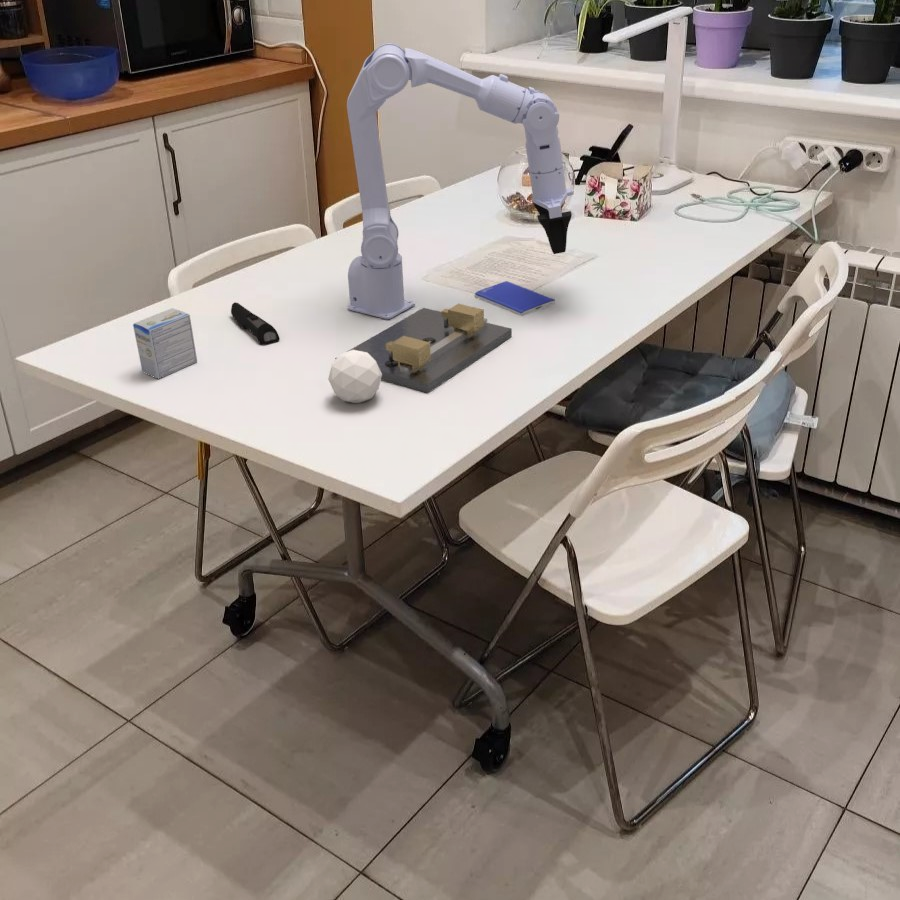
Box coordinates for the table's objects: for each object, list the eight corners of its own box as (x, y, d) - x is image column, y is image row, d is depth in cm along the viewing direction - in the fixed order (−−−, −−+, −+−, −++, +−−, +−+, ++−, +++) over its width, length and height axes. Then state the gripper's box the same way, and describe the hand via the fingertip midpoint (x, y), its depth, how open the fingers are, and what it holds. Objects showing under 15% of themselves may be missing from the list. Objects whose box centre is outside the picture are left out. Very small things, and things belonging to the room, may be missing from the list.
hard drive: (474, 291, 189) (521, 311, 180) (507, 280, 193) (555, 298, 185) (474, 300, 189) (521, 319, 181) (507, 288, 194) (555, 306, 186)
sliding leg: (438, 330, 172) (437, 307, 170) (449, 324, 174) (448, 301, 172) (474, 339, 168) (473, 315, 166) (484, 332, 170) (483, 309, 168)
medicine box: (181, 356, 171) (172, 306, 167) (198, 362, 169) (190, 313, 164) (141, 373, 166) (131, 322, 162) (158, 380, 164) (149, 329, 159)
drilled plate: (336, 366, 166) (332, 332, 163) (424, 315, 182) (422, 283, 179) (427, 393, 156) (426, 356, 153) (511, 336, 173) (511, 303, 170)
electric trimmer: (247, 315, 187) (244, 298, 185) (282, 342, 175) (279, 325, 174) (227, 320, 185) (225, 303, 183) (261, 347, 174) (259, 330, 172)
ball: (344, 416, 157) (312, 373, 155) (384, 384, 159) (352, 342, 158) (357, 412, 150) (324, 368, 148) (399, 379, 152) (366, 335, 151)
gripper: (575, 175, 168) (585, 254, 174) (564, 152, 180) (573, 227, 187) (532, 183, 168) (543, 262, 175) (524, 160, 181) (535, 234, 187)
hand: (556, 245), depth 181 cm, fingers open, 7 cm apart
